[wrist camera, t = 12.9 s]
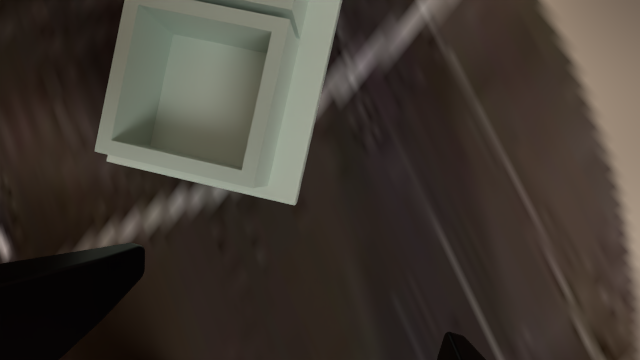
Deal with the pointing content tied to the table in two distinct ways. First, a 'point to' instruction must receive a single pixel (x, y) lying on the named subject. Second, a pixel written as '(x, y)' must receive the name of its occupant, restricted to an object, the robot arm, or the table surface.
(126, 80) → the compartment organizer
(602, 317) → the table surface
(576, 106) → the table surface
